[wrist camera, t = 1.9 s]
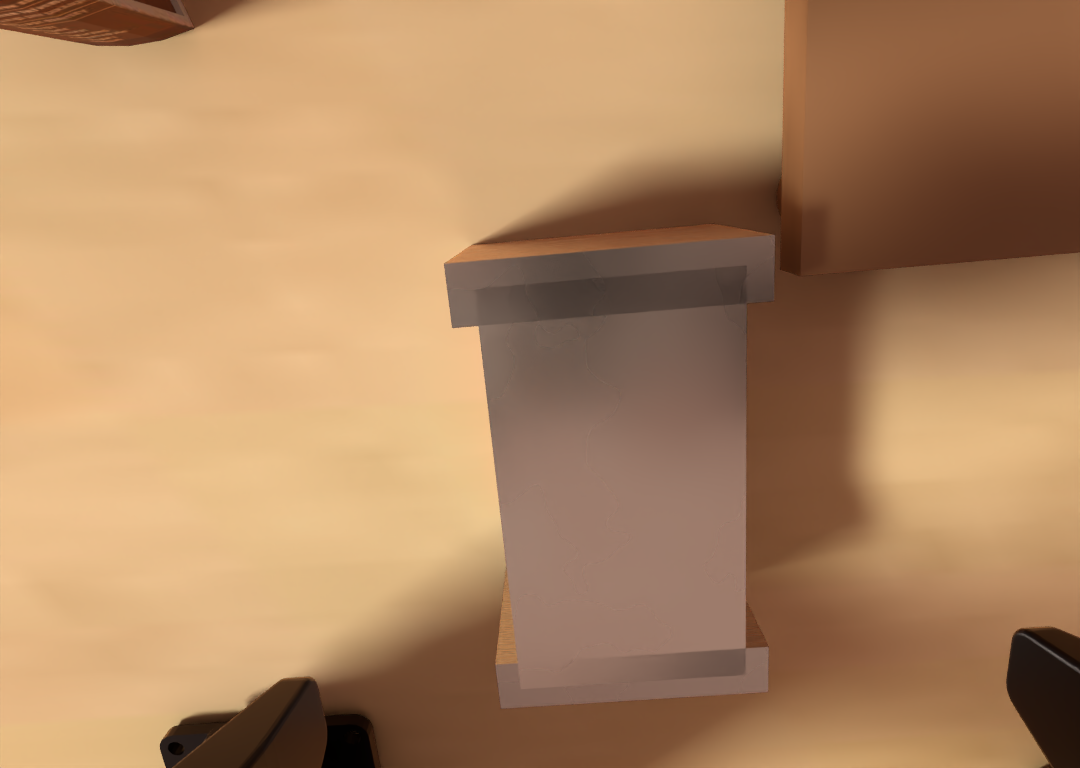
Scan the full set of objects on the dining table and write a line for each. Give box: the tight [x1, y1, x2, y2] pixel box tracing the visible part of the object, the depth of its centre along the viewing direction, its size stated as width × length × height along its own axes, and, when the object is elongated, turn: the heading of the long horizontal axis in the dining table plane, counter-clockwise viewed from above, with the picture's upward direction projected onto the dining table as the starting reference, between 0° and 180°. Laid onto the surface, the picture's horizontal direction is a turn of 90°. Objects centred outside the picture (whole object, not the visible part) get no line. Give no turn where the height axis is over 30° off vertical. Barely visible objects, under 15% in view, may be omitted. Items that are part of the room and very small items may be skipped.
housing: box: [444, 224, 775, 709], centre depth 15 cm, size 10×6×4 cm, turn 5°
